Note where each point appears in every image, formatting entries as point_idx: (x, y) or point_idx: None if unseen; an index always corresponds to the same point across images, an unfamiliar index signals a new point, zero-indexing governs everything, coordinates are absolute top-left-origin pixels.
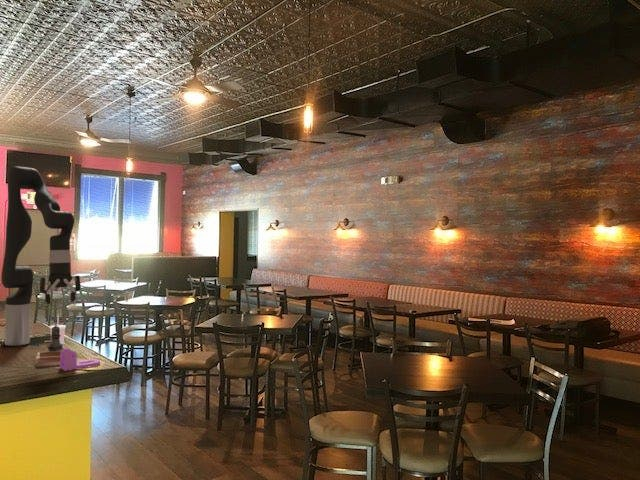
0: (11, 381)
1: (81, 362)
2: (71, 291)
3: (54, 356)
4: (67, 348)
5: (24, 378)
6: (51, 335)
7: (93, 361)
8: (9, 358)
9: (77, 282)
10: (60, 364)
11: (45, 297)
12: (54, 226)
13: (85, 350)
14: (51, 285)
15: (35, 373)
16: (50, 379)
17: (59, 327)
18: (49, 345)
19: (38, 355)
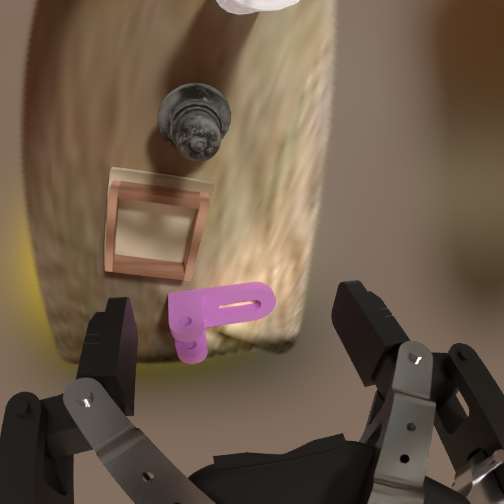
0: (64, 342)
1: (226, 303)
2: (387, 371)
3: (157, 274)
4: (191, 335)
5: None
6: (176, 125)
7: (259, 299)
8: (33, 103)
9: (456, 457)
10: (169, 302)
11: (85, 362)
12: None
13: (314, 112)
14: (154, 490)
15: None
16: (137, 360)
17: (260, 10)
18: (166, 124)
19: (109, 239)
